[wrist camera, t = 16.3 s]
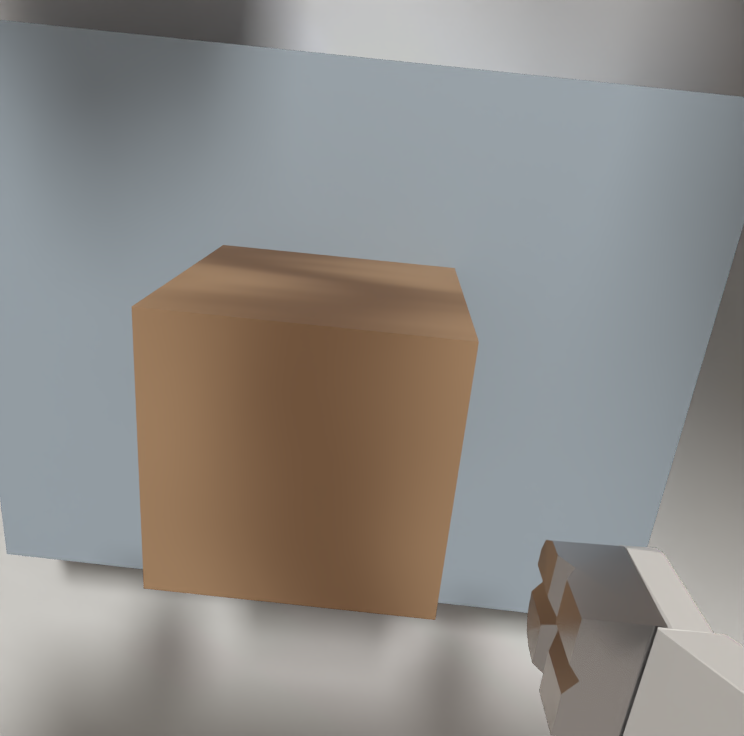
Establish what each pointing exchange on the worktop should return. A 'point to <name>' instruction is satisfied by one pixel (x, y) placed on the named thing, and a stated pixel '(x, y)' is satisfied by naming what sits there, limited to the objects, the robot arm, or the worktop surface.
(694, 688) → the robot arm
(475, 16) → the worktop surface
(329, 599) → the walnut cube
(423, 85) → the plate
